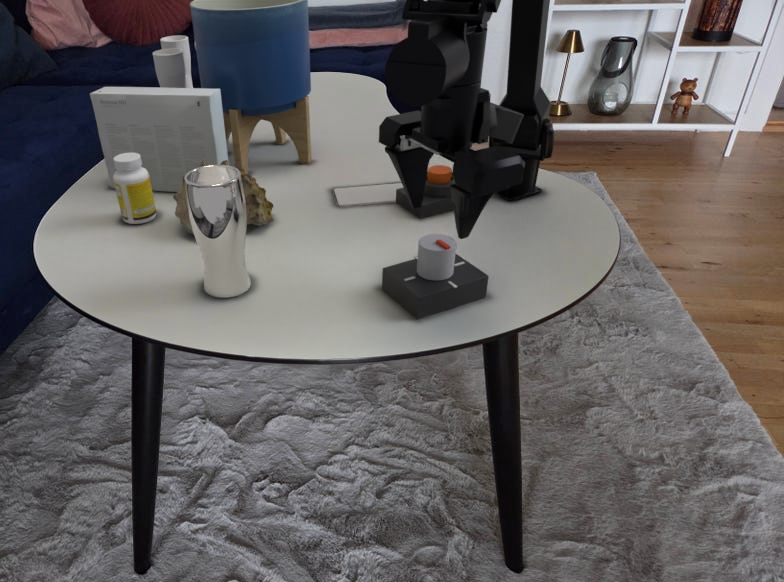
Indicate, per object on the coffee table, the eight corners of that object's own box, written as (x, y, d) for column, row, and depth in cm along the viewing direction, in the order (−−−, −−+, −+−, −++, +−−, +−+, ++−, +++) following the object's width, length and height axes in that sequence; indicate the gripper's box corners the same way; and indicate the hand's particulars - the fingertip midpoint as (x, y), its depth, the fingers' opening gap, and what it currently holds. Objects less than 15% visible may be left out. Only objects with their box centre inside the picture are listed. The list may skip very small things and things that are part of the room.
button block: (452, 187, 104) (454, 164, 102) (479, 203, 99) (482, 178, 97) (395, 202, 101) (396, 178, 99) (420, 218, 96) (422, 193, 93)
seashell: (174, 228, 100) (156, 168, 93) (259, 200, 103) (248, 140, 97) (194, 260, 92) (175, 197, 85) (285, 229, 95) (274, 165, 89)
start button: (441, 174, 100) (442, 163, 99) (455, 181, 97) (456, 170, 96) (422, 178, 99) (423, 168, 98) (436, 186, 96) (437, 175, 95)
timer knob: (409, 268, 78) (411, 236, 76) (439, 259, 80) (442, 228, 77) (430, 284, 75) (433, 251, 72) (460, 274, 76) (464, 242, 74)
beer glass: (202, 274, 85) (184, 166, 76) (253, 270, 86) (242, 161, 76) (199, 302, 80) (180, 188, 71) (254, 297, 80) (242, 183, 71)
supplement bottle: (163, 212, 102) (151, 152, 96) (146, 226, 98) (132, 164, 92) (134, 209, 103) (120, 149, 98) (116, 223, 99) (101, 161, 94)
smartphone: (331, 188, 106) (419, 180, 107) (331, 191, 107) (419, 184, 107) (337, 206, 100) (430, 198, 101) (337, 210, 101) (430, 202, 101)
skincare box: (233, 183, 110) (221, 87, 100) (222, 196, 106) (209, 97, 96) (124, 176, 115) (103, 84, 105) (109, 188, 111) (86, 93, 101)
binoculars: (196, 155, 122) (181, 54, 111) (168, 157, 122) (150, 56, 111) (202, 127, 136) (189, 34, 125) (176, 129, 136) (161, 36, 125)
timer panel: (445, 268, 84) (447, 246, 82) (487, 298, 78) (490, 275, 76) (380, 287, 81) (381, 265, 79) (418, 320, 74) (420, 298, 72)
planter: (192, 171, 116) (167, 8, 100) (240, 137, 130) (224, -11, 113) (289, 182, 109) (278, 10, 93) (328, 145, 123) (324, -10, 107)
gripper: (582, 87, 60) (550, 237, 69) (461, 51, 73) (448, 181, 83) (486, 107, 56) (466, 262, 66) (378, 65, 70) (374, 199, 79)
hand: (438, 222), depth 73 cm, fingers open, 9 cm apart
